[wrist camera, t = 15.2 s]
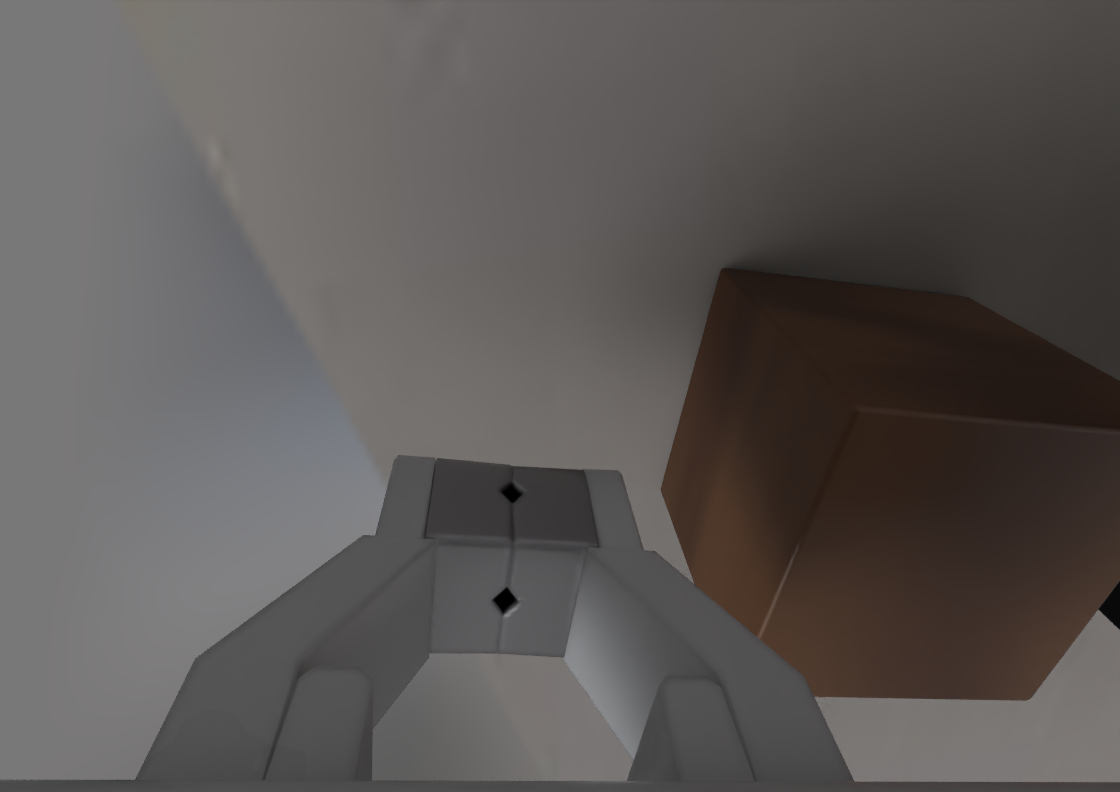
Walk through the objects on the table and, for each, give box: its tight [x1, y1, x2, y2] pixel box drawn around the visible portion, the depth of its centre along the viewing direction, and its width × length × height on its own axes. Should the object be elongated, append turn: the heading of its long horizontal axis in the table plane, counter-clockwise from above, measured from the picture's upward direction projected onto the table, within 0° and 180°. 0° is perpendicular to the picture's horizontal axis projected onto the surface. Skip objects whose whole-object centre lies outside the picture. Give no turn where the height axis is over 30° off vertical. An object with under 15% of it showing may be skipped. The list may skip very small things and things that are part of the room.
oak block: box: [661, 268, 1120, 701], centre depth 11 cm, size 5×5×5 cm
